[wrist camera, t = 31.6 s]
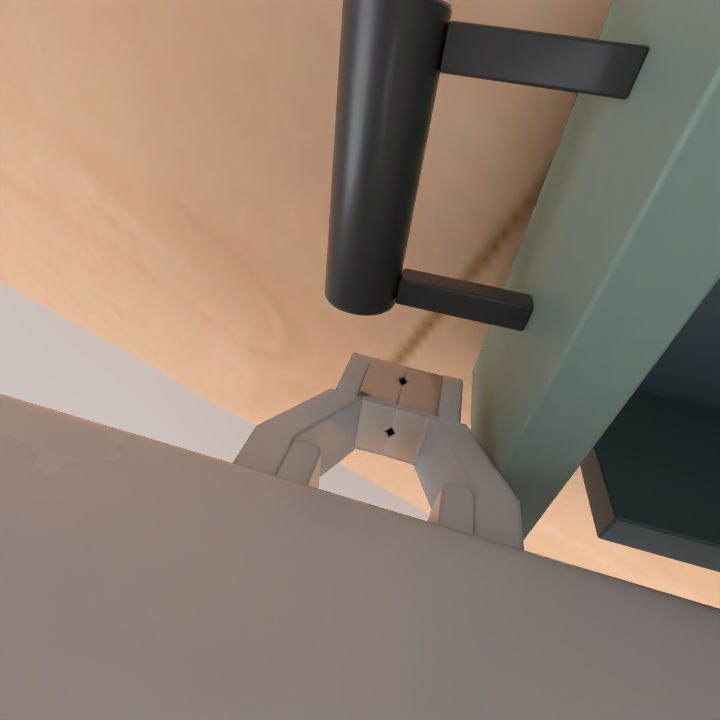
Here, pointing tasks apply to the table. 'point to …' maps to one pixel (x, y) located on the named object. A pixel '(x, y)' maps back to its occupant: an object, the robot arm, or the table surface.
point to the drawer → (563, 254)
